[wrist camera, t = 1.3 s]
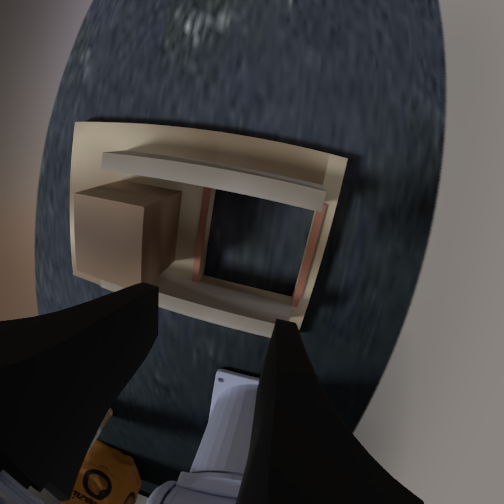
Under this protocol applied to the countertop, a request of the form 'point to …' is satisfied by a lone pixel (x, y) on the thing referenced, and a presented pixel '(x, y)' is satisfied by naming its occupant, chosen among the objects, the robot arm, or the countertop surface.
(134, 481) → the coffee package
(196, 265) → the frame
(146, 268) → the walnut block
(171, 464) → the countertop surface
